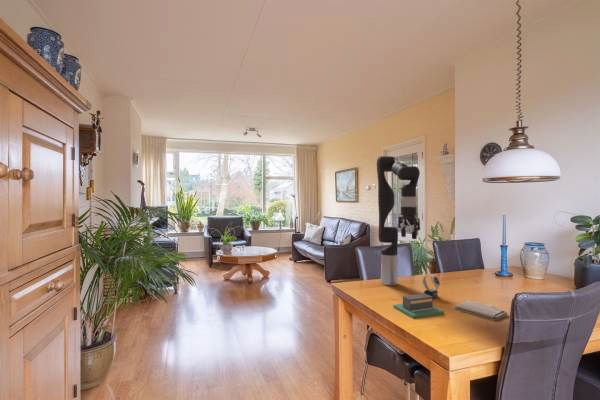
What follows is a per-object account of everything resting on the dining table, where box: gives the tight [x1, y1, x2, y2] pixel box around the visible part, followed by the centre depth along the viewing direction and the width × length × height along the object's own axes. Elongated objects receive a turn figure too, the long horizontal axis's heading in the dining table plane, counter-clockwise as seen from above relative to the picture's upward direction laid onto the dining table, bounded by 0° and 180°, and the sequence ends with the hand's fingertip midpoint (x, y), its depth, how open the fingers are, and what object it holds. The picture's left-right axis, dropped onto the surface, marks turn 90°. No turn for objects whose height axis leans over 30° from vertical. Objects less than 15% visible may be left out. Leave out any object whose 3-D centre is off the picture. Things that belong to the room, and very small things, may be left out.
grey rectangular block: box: [402, 293, 434, 311], centre depth 143 cm, size 12×5×5 cm, turn 108°
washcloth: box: [454, 299, 508, 322], centre depth 141 cm, size 12×18×3 cm, turn 35°
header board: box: [392, 303, 445, 319], centre depth 143 cm, size 14×16×5 cm
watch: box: [422, 274, 441, 299], centre depth 162 cm, size 6×8×11 cm
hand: (408, 237), depth 162 cm, fingers open, 8 cm apart
